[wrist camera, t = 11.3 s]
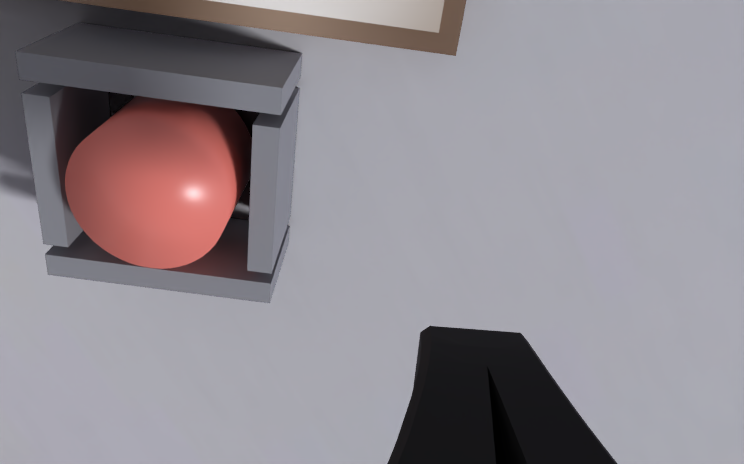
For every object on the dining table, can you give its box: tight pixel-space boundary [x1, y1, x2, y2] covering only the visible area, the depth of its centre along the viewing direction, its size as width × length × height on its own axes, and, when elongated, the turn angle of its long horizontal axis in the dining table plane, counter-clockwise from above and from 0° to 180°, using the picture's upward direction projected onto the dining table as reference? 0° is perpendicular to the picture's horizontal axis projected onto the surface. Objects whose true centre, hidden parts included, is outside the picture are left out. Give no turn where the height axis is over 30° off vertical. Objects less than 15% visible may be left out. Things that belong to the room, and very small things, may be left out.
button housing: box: [15, 23, 302, 303], centre depth 16 cm, size 6×6×3 cm
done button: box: [65, 96, 252, 269], centre depth 16 cm, size 4×4×3 cm
